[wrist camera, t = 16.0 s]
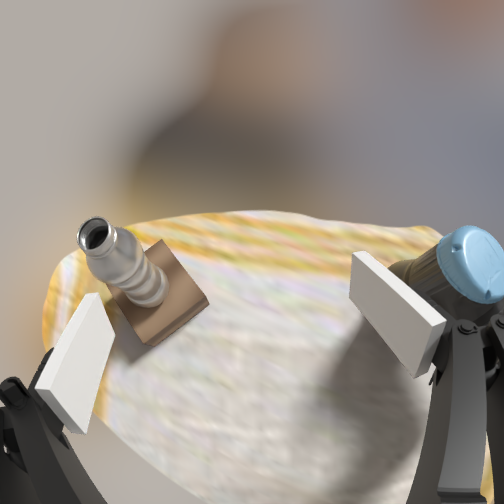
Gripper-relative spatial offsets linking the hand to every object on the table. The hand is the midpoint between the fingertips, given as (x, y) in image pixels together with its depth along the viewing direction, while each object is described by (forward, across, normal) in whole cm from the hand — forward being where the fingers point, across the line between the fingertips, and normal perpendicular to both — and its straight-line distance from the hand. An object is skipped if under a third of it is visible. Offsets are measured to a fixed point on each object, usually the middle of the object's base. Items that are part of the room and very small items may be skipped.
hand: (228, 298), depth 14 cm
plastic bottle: (+26, -12, -13) cm, 32 cm away
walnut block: (+30, -12, -17) cm, 37 cm away
